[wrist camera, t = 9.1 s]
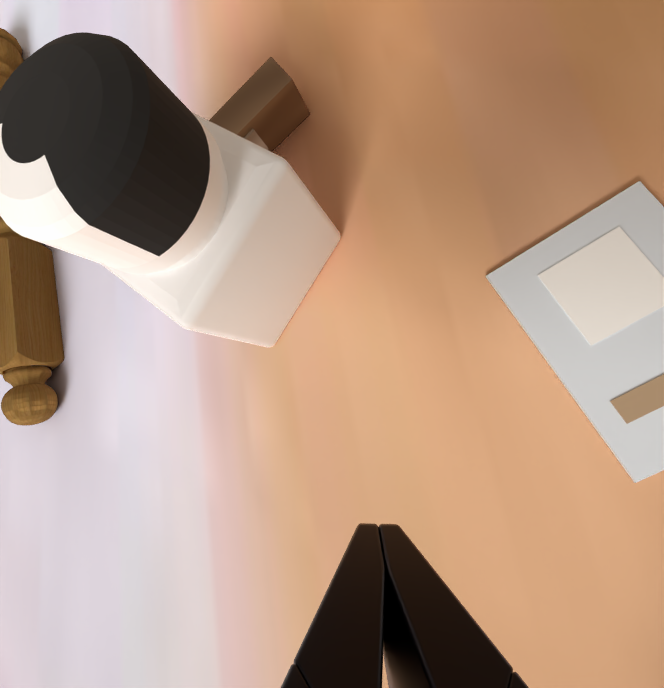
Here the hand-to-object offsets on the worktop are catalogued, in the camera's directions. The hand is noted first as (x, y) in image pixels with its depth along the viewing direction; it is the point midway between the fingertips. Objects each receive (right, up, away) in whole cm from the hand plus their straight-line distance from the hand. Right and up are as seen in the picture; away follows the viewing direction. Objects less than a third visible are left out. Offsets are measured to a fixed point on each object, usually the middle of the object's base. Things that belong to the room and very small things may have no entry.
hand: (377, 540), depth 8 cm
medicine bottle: (-5, +9, +13) cm, 17 cm away
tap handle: (-23, +13, +20) cm, 33 cm away
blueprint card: (+11, +5, +7) cm, 14 cm away
